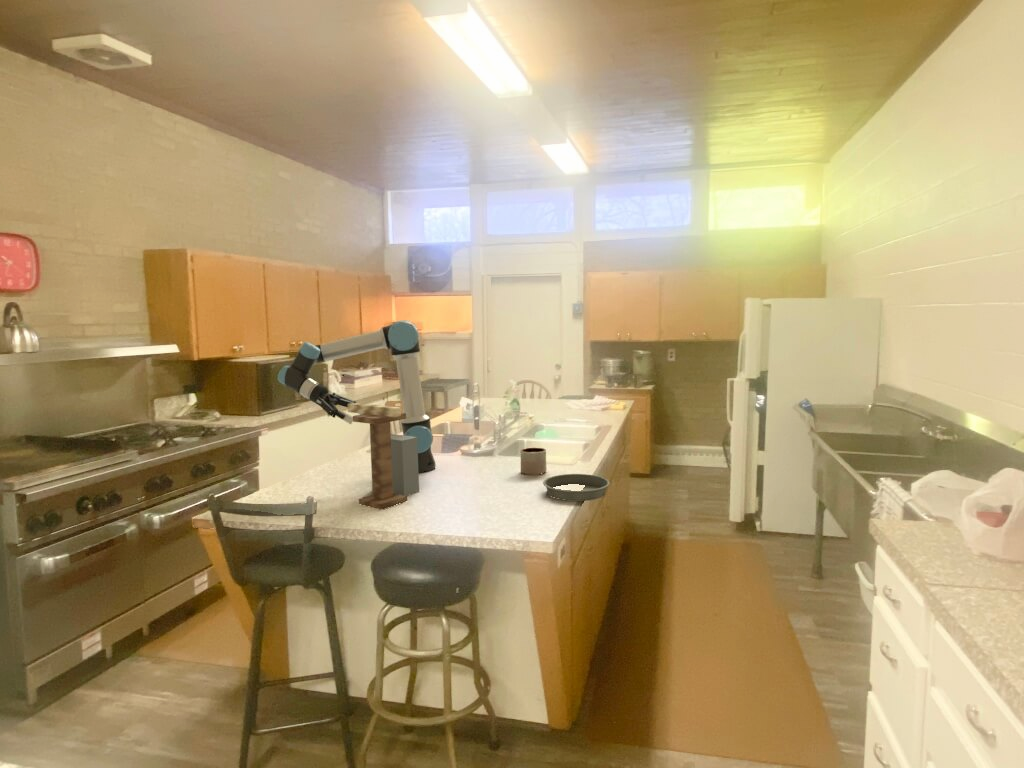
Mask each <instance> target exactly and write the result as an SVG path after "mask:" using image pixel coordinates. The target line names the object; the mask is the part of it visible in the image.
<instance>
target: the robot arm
mask: <svg viewBox="0 0 1024 768" xmlns="http://www.w3.org/2000/svg"><path fill="white" fill-rule="evenodd" d="M419 335H420V334H419V331H418V328H417V326H416V325H414V323H412V322H411V321H409V320H397V321H396V322H394V323H392V324H389V325H387V326H383V327H381V328H380V329H379V330H376V331H372V332H367V333H363V334H359V335H354V336H350V337H346V338H342V339H337V340H334V341H328V342H324V343H320V344H316V345H314V344H313V343H311V342H308V341H304V342H303V343H302V345H301V346H300V347H299V349H298V352H297V354H296V355H295V357H294V359H293V361H292V363H291V364H290V365H284V366H282V368H281V369H280V370H279V372H278V374H277V381H278V382H279V383H280V384H281V385H283V386H284V387H287V388H288V389H289V390H291V391H294V392H295V393H297V394H298V395H301V396H302V398H304V399H305V398H306V399H307V400H309V401H311V402H313V403H315V405H318V406H319V407H320V408H322V410H323V411H324V412H326V413H327V414H328V415H329V416H330V417H332V418H333V419H334V418H336V417H337V418H339V419H341V420H342V421H344V422H346V423H348V424H349V425H352V424H353V423H354V422H353V415H350V414H348V412H345V411H343V410H341V409H338V408H337V407H336V406H342V407H345V408H348V404H350V403H357V401H356V400H353V399H350V398H349V397H345V396H343V395H340V394H338V393H336V392H332V393H329V388H328V387H327V386H325V385H323V384H321V383H319V382H318V381H316V380H315V379H313V378H312V377H311V378H310V377H309V376H308V375H309V374H310V372H311V370H312V369H313V367H314V365H317V364H322V363H325V362H330V361H333V360H334V361H335V360H337V359H342V358H347V357H350V356H354V355H359V354H364V353H368V352H372V351H376V350H380V349H386V350H390V352H391V353H390V355H391V357H393V359H394V360H395V362H396V367H397V376H398V383H399V384H398V385H399V389H400V396H401V403H402V408H403V410H402V411H403V413H406V419H402V420H400V421H401V430H402V435H404V436H412V437H417V444H418V473H424V471H426V472H430V471H429V470H431V471H433V470H432V469H434V468H435V467H437V466H436V460H435V457H434V455H433V453H432V444H433V441H434V435H433V433H432V427H431V425H432V423H431V418H430V416H429V415H427V414H426V411H425V410H426V409H425V403H424V396H423V389H422V382H421V376H420V375H421V374H420V368H419V362H418V361H419V360H418V355H419V354H420V353H421V348H420V341H419ZM357 415H361V413H357ZM435 469H436V468H435ZM435 469H434V470H435Z"/></svg>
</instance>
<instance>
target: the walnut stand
mask: <svg viewBox="0 0 1024 768" xmlns="http://www.w3.org/2000/svg"><path fill="white" fill-rule="evenodd" d="M352 417H353V422H352V423H354V422H355V423H361V424H362V423H363V424H369V435H370V436H369V439H370V441H371V445H370V463H371V465H372V469H371V488H373V490H372V494H369V495H368V496H364V497H361V498H358V505H359V504H361V505H360V506H363V505H365V506H364V507H368V506H370V507H369V508H372V507H374V508H373V509H377V508H378V509H377V510H381V509H383V510H386V509H388V507H389V508H392V507H395V506H397V505H396V504H398V505H400V504H399V503H401V504H403V502H404V503H406V501H407V502H408V495H407V496H404V495H400V494H395V493H393V483H392V458H391V434H392V433H391V423H392V422H396V421H402V420H403V419H406V413H404V412H401V416H398V417H389V416H380V415H370V414H361V415H360V414H355V415H352ZM394 505H395V506H394ZM391 506H392V507H391ZM385 508H386V509H385Z"/></svg>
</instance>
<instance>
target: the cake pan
mask: <svg viewBox="0 0 1024 768" xmlns="http://www.w3.org/2000/svg"><path fill="white" fill-rule="evenodd" d="M568 484H579V485H585V487H584V488H583V490H581V491H571V490H561V489H555V488H553V487H556V486H561V485H568ZM610 484H611V483H610V481H609V480H608V479H607V478H605V477H602V476H600V475H594V474H587V473H586V474H585V473H567V474H566V473H565V474H558V475H552V476H549V477H547V478H546V479H544V480H543V482H542V485H544V487H545V488H546V490H547V494H548V496H549V497H551V496H552V497H551V498H553V497H555V498H554V499H556V498H559V499H558V500H561V499H565V500H564V501H568V500H572V501H571V502H584V501H585V502H586V501H592V500H593V501H594V500H598V499H601V498H603V497H604V496H605V495H606V492H607V488H608V487H609V486H610Z"/></svg>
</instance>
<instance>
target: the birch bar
mask: <svg viewBox="0 0 1024 768" xmlns="http://www.w3.org/2000/svg"><path fill="white" fill-rule="evenodd" d="M347 413H352V414H358V413H361V414H370V415H380V416H389V417H398V416H401V413H402V408H401V407H400V406H392V405H391V406H390V405H389V406H388V405H381V404H380V405H379V404H369V403H368V404H367V403H359V402H358V403H357V402H356V403H350V404H348V407H347Z"/></svg>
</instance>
